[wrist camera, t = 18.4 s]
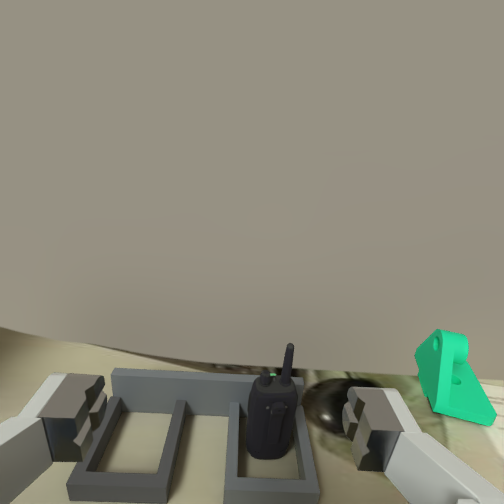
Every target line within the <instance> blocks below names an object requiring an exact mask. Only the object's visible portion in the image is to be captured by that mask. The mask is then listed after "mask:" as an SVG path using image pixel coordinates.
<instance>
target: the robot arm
mask: <svg viewBox="0 0 504 504" xmlns="http://www.w3.org/2000/svg"><path fill="white" fill-rule="evenodd" d="M104 385H105V381H104V376H101V375H87V374H74V373H56V372H54V373H52V374H51V375H49V376H48V377H47V379H46V380H45V381H44V383H43V384H42V385H41V386H40V388H39V389H38V390H37V392H36V393H35V394H34V395H33V397H32V398H31V399H30V401H29V402H28V403H27V404H26V406H25V407H24V408H23V410H22V411H21V412H20V413H19V415H18V416H17V417H10V418H9V419H7V420H6V421H4V422H2V423H1V424H0V504H9V503H10V502H12V501H13V500H14V499H15V498H16V497H17V496H18V495H19V494H20V493H21V492H22V491H24V490H25V489H26V488H27V487H28V486H29V485H30V484H31V483H32V482H33V481H35V480H36V479H37V478H38V477H39V476H40V475H41V474H42V473H43V472H44V471H45V470H47V469H48V468H49V467H50V466H51V465H52V464H53V462H83V461H84V459H85V457H86V455H87V452H88V450H89V448H90V446H91V444H92V442H93V434H92V432H94V431H95V430H96V429H97V428H99V427H100V425H101V423H102V421H103V419H104V416H105V412H106V408H107V395H106V394H105V393H104V392H103V391H102V389H103V387H104ZM347 397H348V399H349V402H347V403H346V404H345V405H344V408H343V412H342V413H343V426H344V430H345V433H346V436H347V437H348V438H349V439H350V440H351V441H352V442H353V443H352V446H351V452H352V455H353V458H354V461H355V464H356V467H357V470H358V471H374V472H385V473H384V474H385V475H386V476H387V477H388V479H389V480H390V481H391V482H392V483H393V484H394V486H395V487H396V488H397V489H398V490H399V491H400V493H401V494H402V495H403V496H404V497H405V498H406V500H407V501H408V502H409V503H410V504H504V494H503V493H502V492H501V491H500V490H498V489H497V488H496V487H495V486H493V485H492V484H491V483H490V482H488V481H487V480H486V479H484V478H483V477H482V476H481V475H479V474H478V473H477V472H476V471H474V470H473V469H472V468H471V467H469V466H468V465H467V464H465V463H464V462H463V461H462V460H460V459H459V458H458V457H457V456H455V455H454V454H453V453H452V452H450V451H449V450H448V449H447V448H445V447H444V446H443V445H441V444H440V443H439V442H438V441H436V440H435V439H434V438H433V437H431V436H430V435H429V434H428V433H422V431H421V430H420V428H419V426H418V424H417V423H416V421H415V419H414V418H413V416H412V414H411V413H410V411H409V409H408V407H407V406H406V404H405V402H404V401H403V399H402V397H401V395H400V394H399V392H398V391H397V390H396V389H393V388H368V387H350V389H349V390H348V394H347Z"/></svg>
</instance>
